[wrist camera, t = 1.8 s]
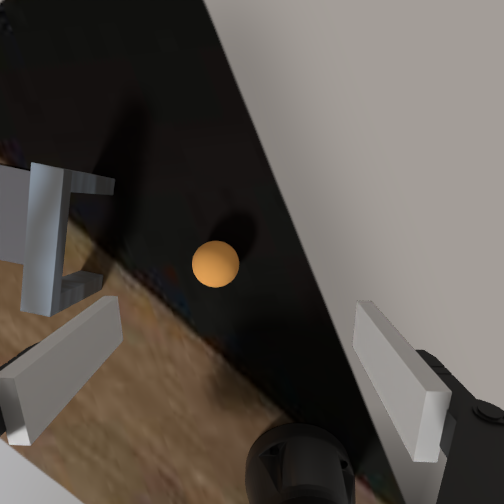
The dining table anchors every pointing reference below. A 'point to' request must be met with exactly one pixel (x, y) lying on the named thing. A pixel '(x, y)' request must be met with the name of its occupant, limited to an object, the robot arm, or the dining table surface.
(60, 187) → the bridge
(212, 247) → the ball
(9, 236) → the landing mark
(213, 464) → the dining table surface
